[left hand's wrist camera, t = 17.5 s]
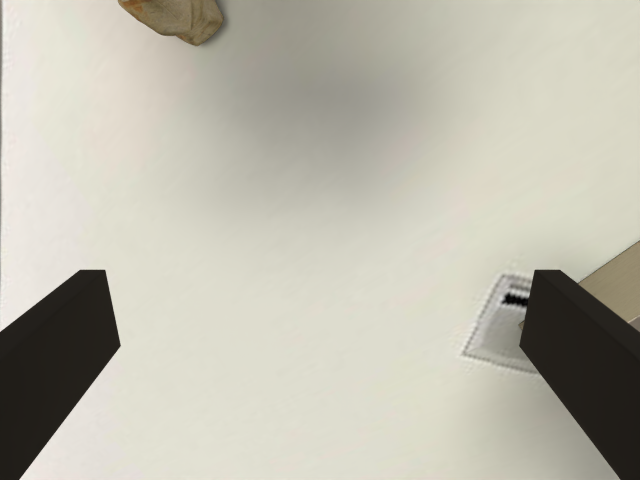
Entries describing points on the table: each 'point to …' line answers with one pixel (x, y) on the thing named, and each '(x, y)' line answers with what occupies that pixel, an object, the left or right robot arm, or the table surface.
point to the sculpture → (177, 17)
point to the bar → (618, 285)
